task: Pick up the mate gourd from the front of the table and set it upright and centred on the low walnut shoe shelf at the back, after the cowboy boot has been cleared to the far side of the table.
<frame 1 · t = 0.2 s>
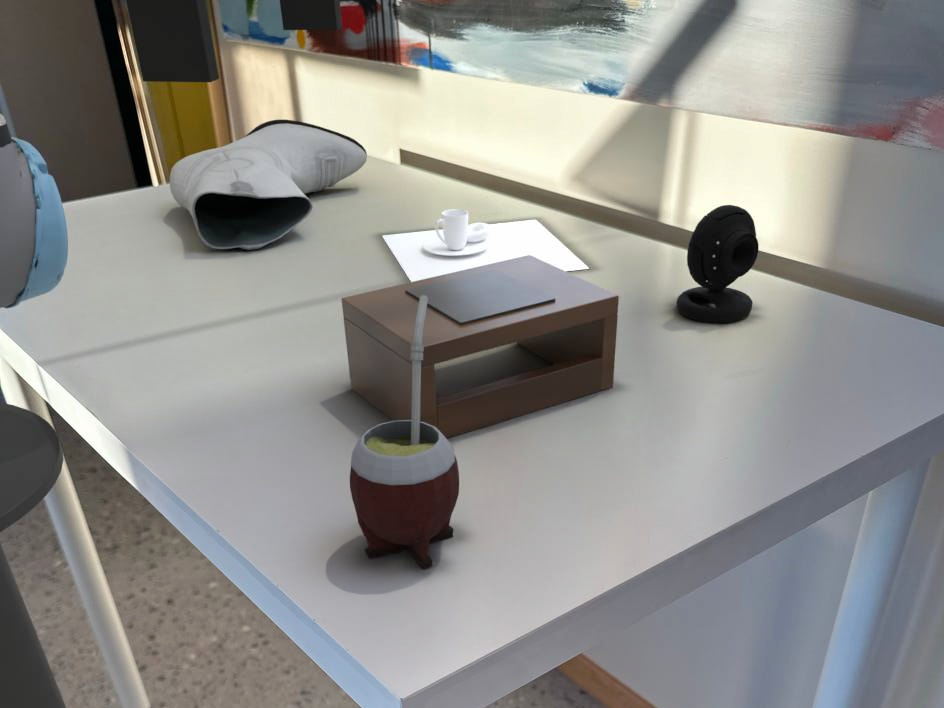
hand: (255, 52, 41), 30 cm above the table, tool pointing down, fingers open, 13 cm apart
shelf: (481, 387, 85), on the table
mate gourd: (411, 543, 66), on the table
cowboy boot: (287, 218, 127), on the table
teacup and saucer: (480, 253, 114), on the table
webcam: (713, 312, 98), on the table
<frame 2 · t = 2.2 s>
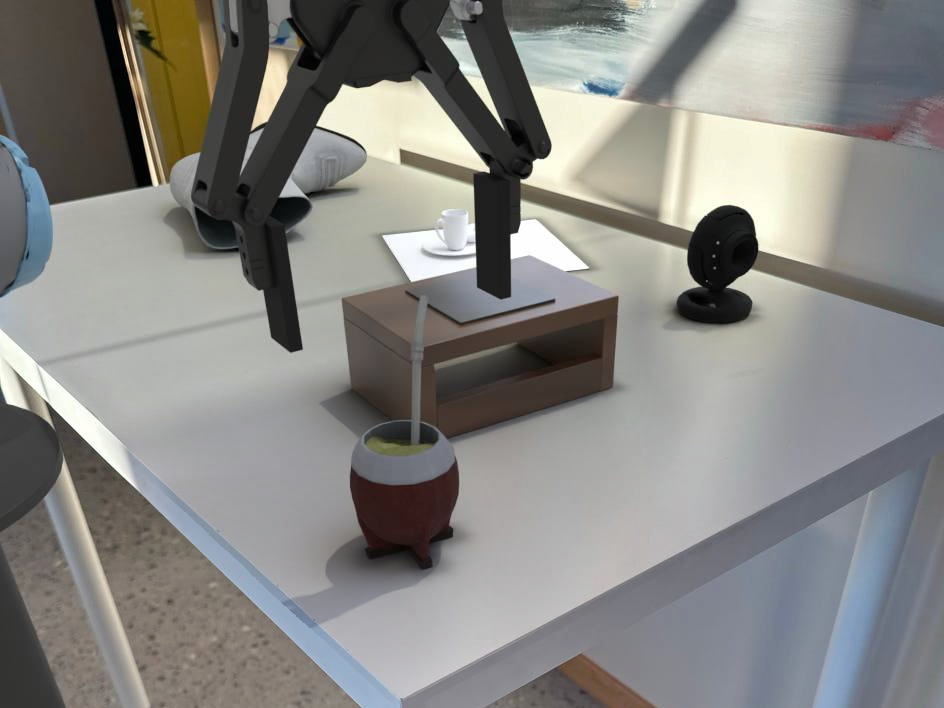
hand: (395, 317, 56), 16 cm above the table, tool pointing down, fingers open, 13 cm apart
nothing on the table moved.
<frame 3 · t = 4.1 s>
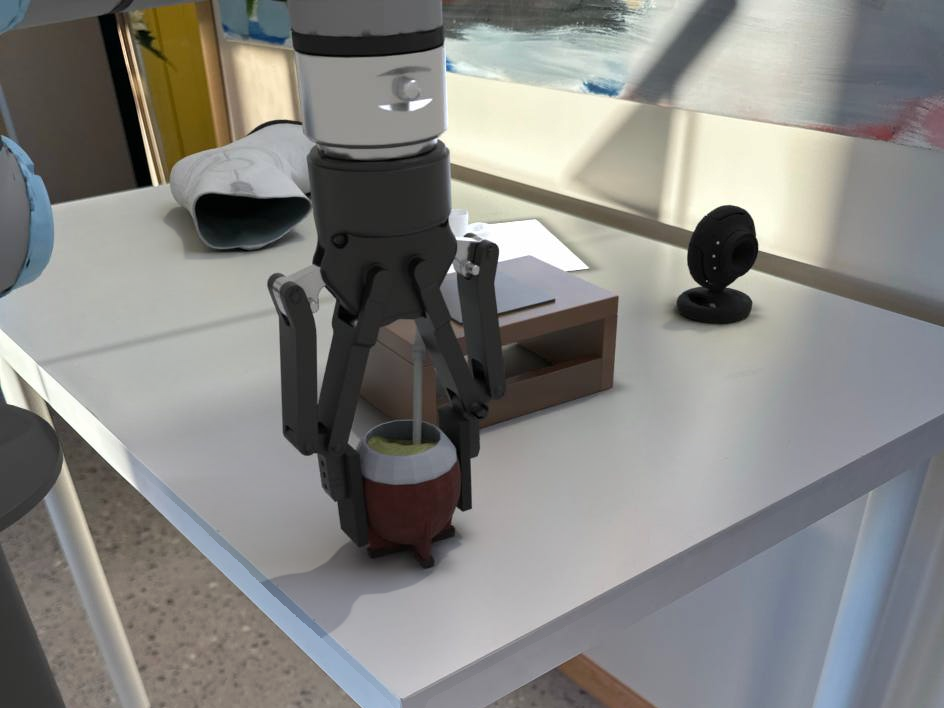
hand: (407, 518, 65), 2 cm above the table, tool pointing down, fingers closed on mate gourd, 7 cm apart
mate gourd: (412, 542, 66), on the table, touching gripper
everything else where it was.
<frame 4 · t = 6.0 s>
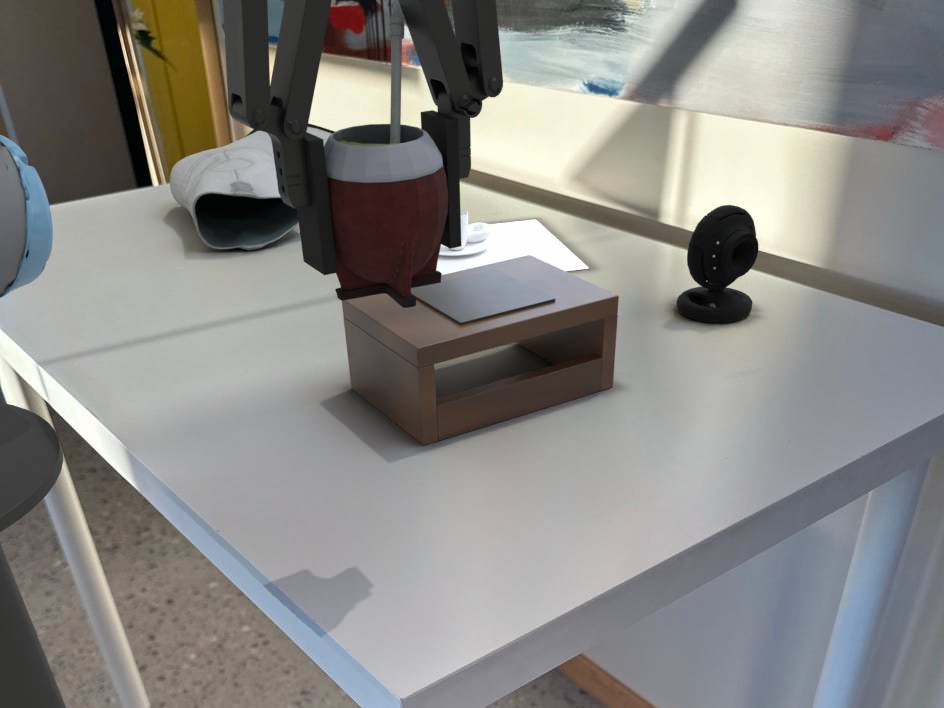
hand: (383, 253, 54), 19 cm above the table, tool pointing down, fingers closed on mate gourd, 7 cm apart
mate gourd: (391, 289, 56), point 17 cm above the table, touching gripper
everything else where it was.
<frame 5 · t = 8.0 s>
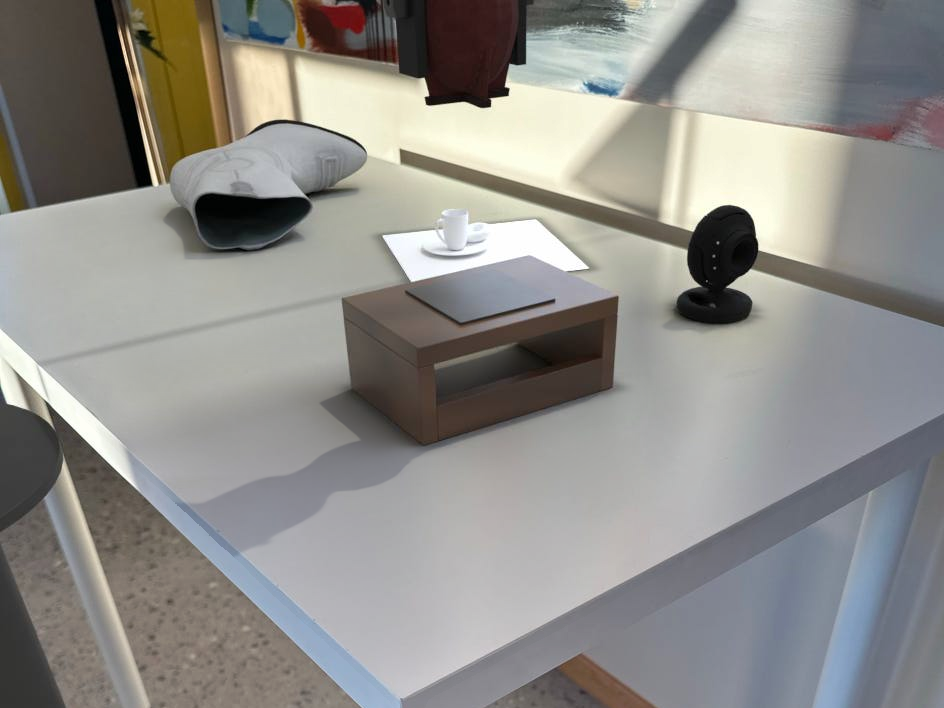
hand: (463, 68, 66), 25 cm above the table, tool pointing down, fingers closed on mate gourd, 7 cm apart
mate gourd: (468, 101, 68), point 23 cm above the table, touching gripper
everything else where it was.
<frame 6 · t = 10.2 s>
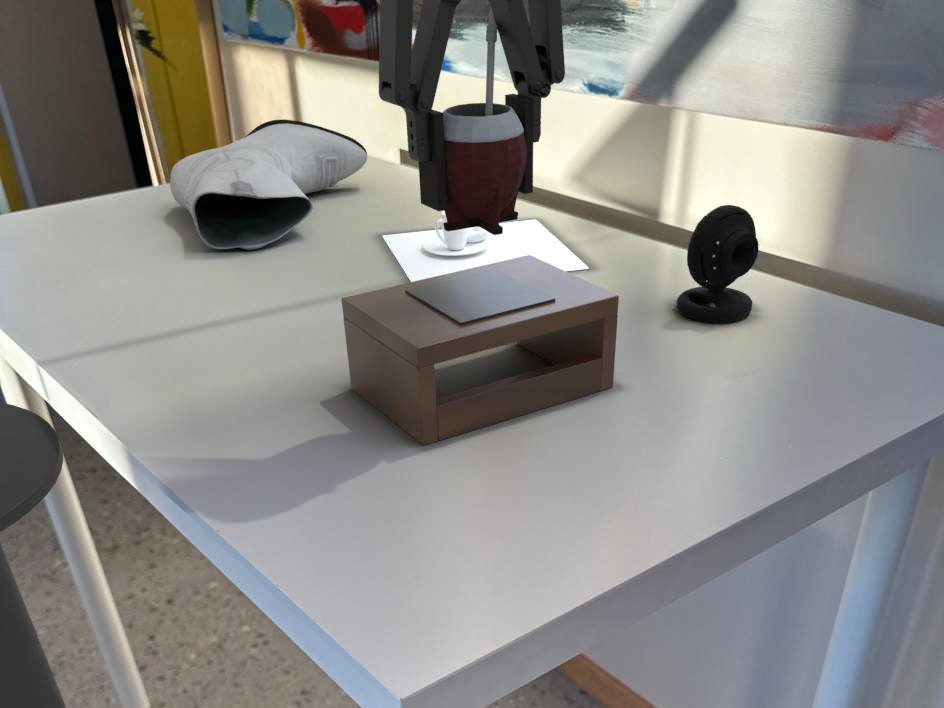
hand: (477, 197, 75), 16 cm above the table, tool pointing down, fingers closed on mate gourd, 7 cm apart
mate gourd: (481, 224, 76), point 14 cm above the table, touching gripper
everything else where it was.
when the fingers open (10 cm above the table, at t = 11.9 s): mate gourd stays where it is, resting on shelf.
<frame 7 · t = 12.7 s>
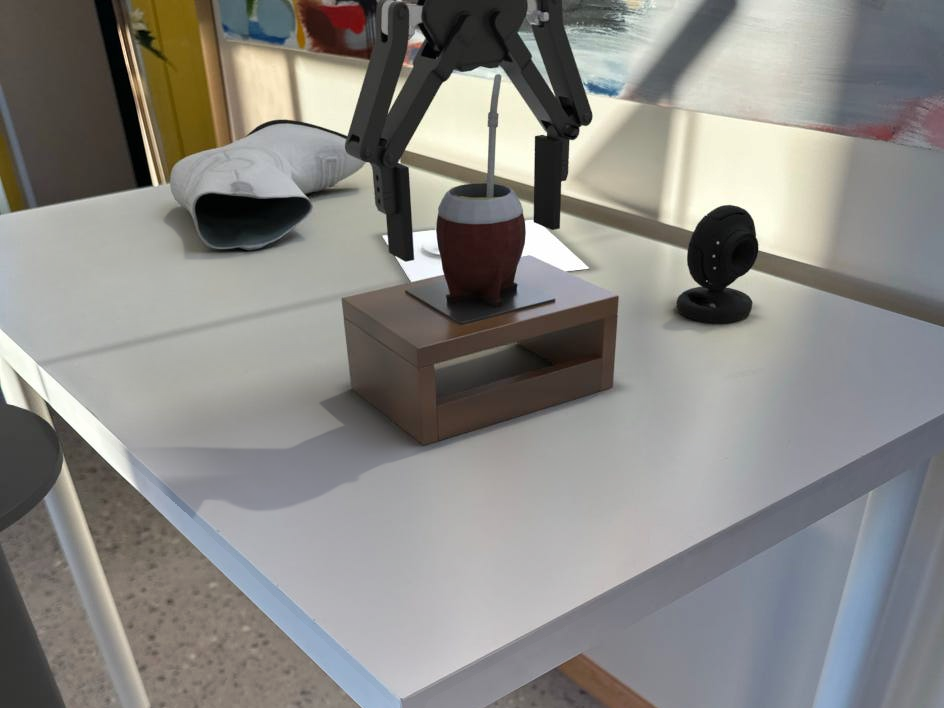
hand: (476, 240, 77), 12 cm above the table, tool pointing down, fingers open, 13 cm apart
mate gourd: (482, 295, 80), point 8 cm above the table, touching shelf
everything else where it was.
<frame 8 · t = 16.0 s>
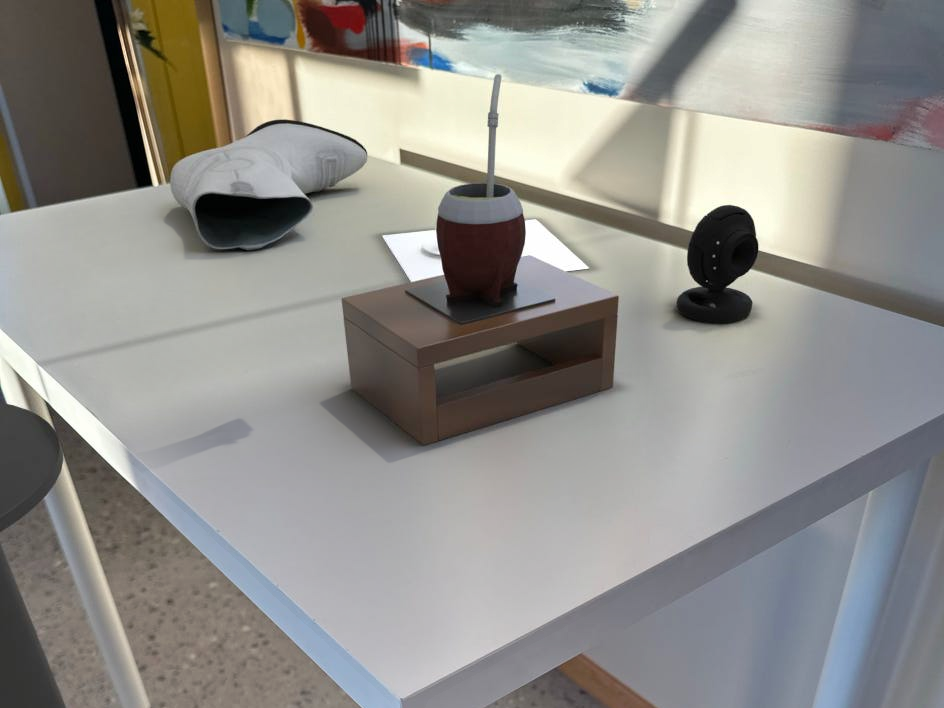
nothing on the table moved.
at the end: mate gourd inside the target area on the shelf (0.3 cm from its centre), point 8.0 cm above the shelf's base; mate gourd tilted 0°; the gripper is holding nothing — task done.
